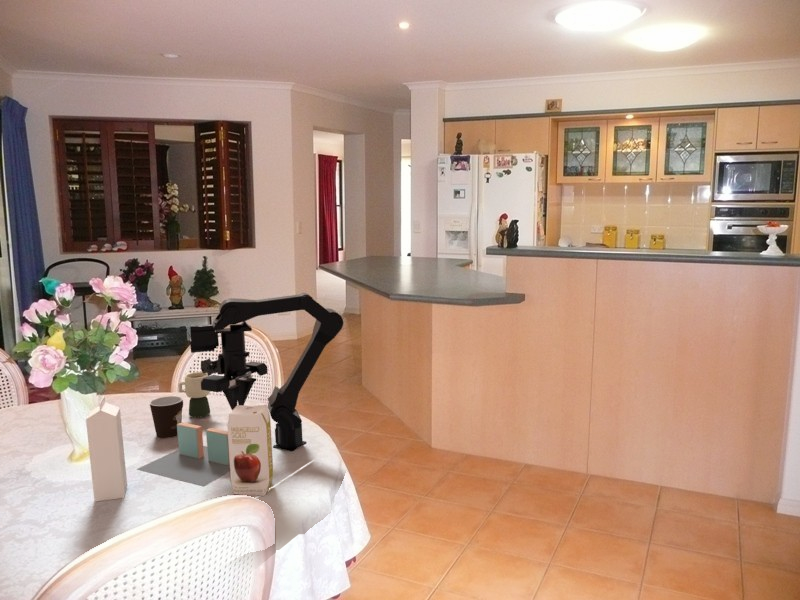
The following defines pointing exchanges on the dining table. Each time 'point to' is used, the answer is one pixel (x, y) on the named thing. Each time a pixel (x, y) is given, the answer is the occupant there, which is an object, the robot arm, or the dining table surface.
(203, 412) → the character mug
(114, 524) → the dining table surface
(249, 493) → the juice carton
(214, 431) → the tile
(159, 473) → the mat
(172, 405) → the coffee mug
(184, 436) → the tile
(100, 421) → the milk
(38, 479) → the dining table surface
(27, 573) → the dining table surface
